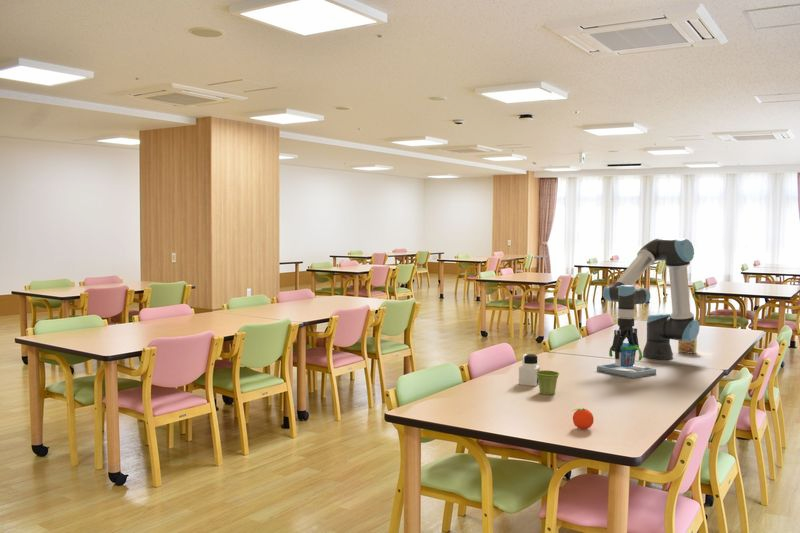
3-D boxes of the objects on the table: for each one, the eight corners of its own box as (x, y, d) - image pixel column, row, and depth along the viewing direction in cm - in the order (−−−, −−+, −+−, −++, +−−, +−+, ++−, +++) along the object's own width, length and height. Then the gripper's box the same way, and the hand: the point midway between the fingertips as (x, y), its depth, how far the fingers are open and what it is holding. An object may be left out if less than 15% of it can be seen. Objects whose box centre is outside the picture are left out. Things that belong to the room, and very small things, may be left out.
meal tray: (621, 367, 339) (621, 361, 339) (656, 374, 322) (656, 368, 322) (596, 370, 329) (596, 365, 329) (631, 378, 313) (631, 373, 312)
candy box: (677, 352, 382) (678, 324, 381) (680, 351, 385) (680, 324, 385) (694, 353, 377) (695, 326, 376) (696, 352, 380) (697, 325, 379)
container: (540, 382, 303) (540, 353, 302) (536, 386, 296) (536, 356, 295) (523, 381, 306) (523, 352, 306) (518, 384, 299) (518, 355, 299)
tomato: (568, 430, 231) (568, 409, 231) (570, 424, 238) (571, 404, 237) (592, 432, 228) (592, 411, 228) (594, 427, 235) (594, 407, 235)
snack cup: (604, 364, 328) (604, 343, 327) (617, 361, 335) (617, 341, 334) (633, 369, 316) (634, 348, 315) (646, 366, 322) (646, 345, 322)
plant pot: (560, 391, 287) (560, 371, 286) (557, 396, 278) (558, 375, 277) (537, 389, 290) (538, 369, 289) (534, 394, 281) (534, 374, 280)
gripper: (634, 315, 333) (633, 360, 334) (604, 318, 321) (603, 365, 322) (647, 317, 327) (646, 363, 328) (616, 320, 315) (616, 368, 316)
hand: (625, 364), depth 325 cm, fingers closed on snack cup, 9 cm apart
